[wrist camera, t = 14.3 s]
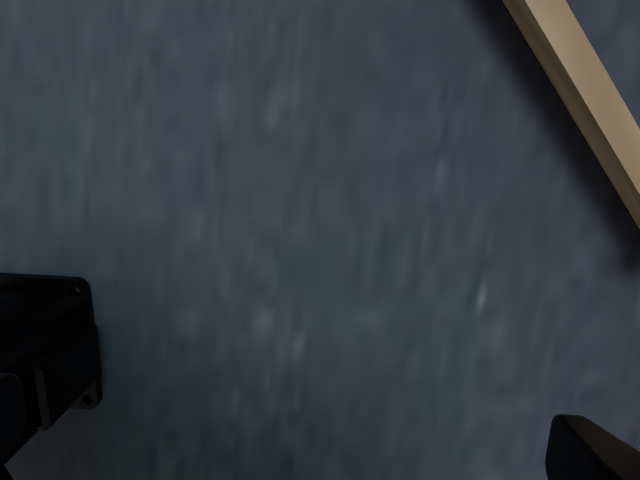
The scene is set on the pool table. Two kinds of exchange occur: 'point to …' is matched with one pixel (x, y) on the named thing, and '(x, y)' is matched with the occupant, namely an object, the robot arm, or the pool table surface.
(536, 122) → the pool table surface
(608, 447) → the robot arm
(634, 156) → the cold frame
